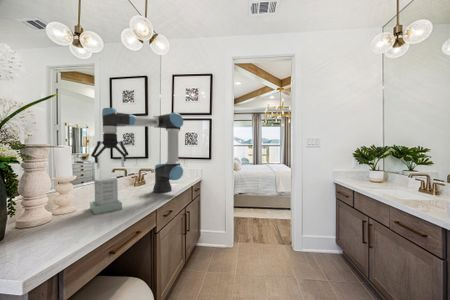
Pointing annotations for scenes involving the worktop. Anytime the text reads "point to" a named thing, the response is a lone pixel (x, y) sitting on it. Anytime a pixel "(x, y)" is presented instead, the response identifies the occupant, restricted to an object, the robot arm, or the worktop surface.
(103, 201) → the supplement box
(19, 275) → the worktop surface
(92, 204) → the tray
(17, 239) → the worktop surface
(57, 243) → the worktop surface
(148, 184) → the worktop surface
